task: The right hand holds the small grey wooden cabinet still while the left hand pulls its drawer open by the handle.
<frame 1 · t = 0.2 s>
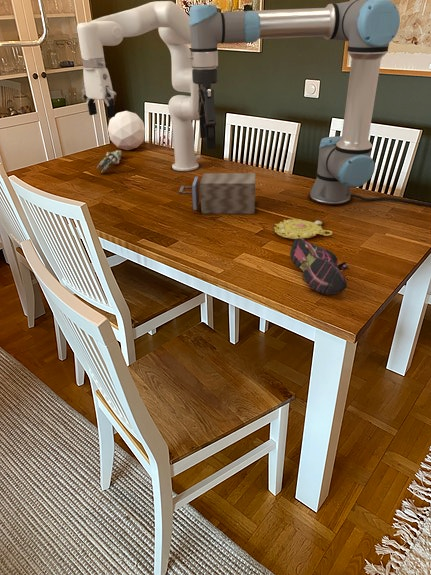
left hand: (102, 115, 162), 31 cm above the table, tool pointing down, fingers open, 9 cm apart
right hand: (207, 142, 139), 28 cm above the table, tool pointing down, fingers open, 13 cm apart
drawer: (211, 193, 164), point 6 cm above the table, slide at 1.8 cm
cabinet: (228, 207, 166), on the table
decorative object: (301, 233, 146), on the table
figurine: (111, 165, 215), on the table
sphere: (129, 148, 239), on the table
athletic shoe: (321, 278, 122), on the table
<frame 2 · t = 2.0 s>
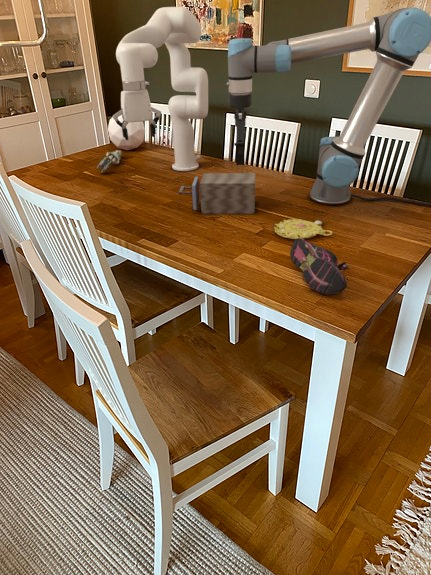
left hand: (139, 137, 160), 24 cm above the table, tool pointing down, fingers open, 9 cm apart
right hand: (240, 158, 154), 19 cm above the table, tool pointing down, fingers open, 13 cm apart
nothing on the table moved.
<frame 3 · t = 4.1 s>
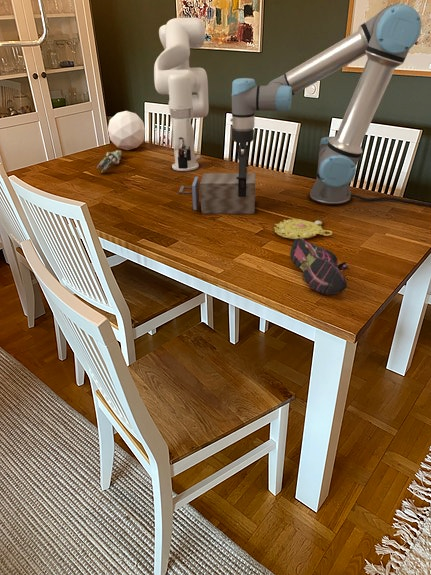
left hand: (185, 164, 159), 16 cm above the table, tool pointing down, fingers open, 8 cm apart
right hand: (242, 190, 162), 7 cm above the table, tool pointing down, fingers closed on cabinet, 11 cm apart
cabinet: (228, 207, 166), on the table, touching right hand
everything else where it was.
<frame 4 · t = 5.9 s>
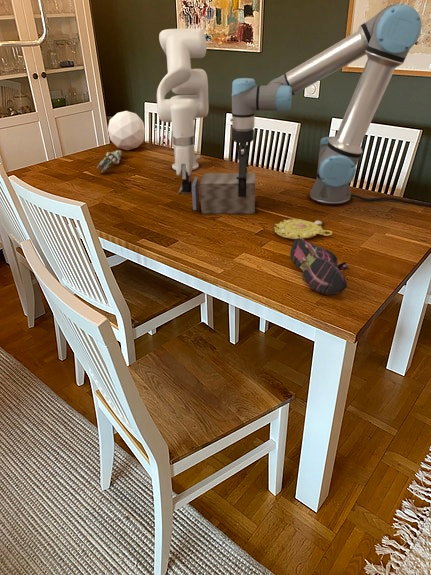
left hand: (187, 191, 163), 6 cm above the table, tool pointing down, fingers closed
right hand: (242, 190, 162), 7 cm above the table, tool pointing down, fingers closed on cabinet, 11 cm apart
cabinet: (228, 207, 166), on the table, touching right hand
everything else where it was.
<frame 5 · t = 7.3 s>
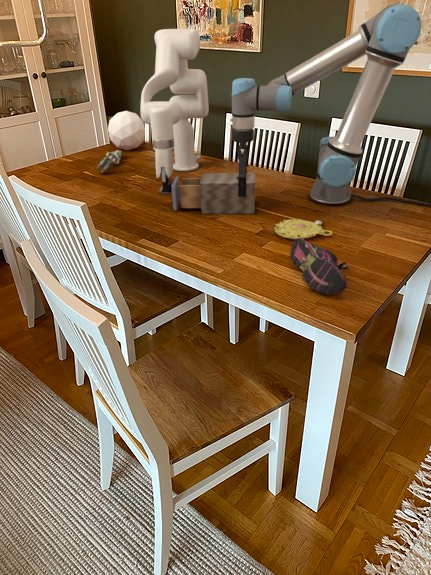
left hand: (167, 193, 165), 5 cm above the table, tool pointing down, fingers closed
right hand: (242, 190, 162), 7 cm above the table, tool pointing down, fingers closed on cabinet, 11 cm apart
drawer: (191, 193, 164), point 6 cm above the table, slide at 9.2 cm, touching left hand
cabinet: (228, 207, 166), on the table, touching right hand
everything else where it was.
when the right hand's fingers open (7 cm above the table, at t = 9.4 s): cabinet stays where it is, on the table.
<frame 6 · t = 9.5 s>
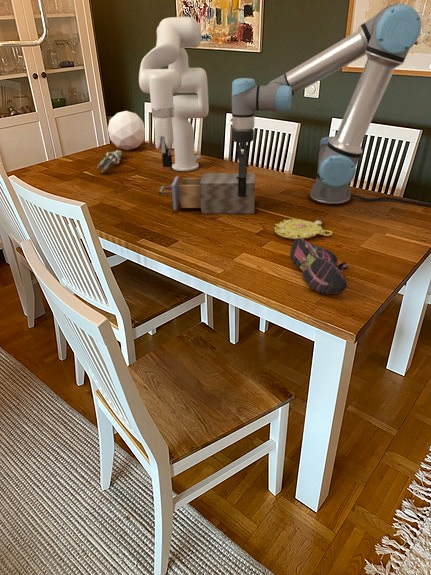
left hand: (167, 166, 159), 16 cm above the table, tool pointing down, fingers closed
right hand: (242, 190, 162), 7 cm above the table, tool pointing down, fingers open, 11 cm apart
drawer: (191, 193, 164), point 6 cm above the table, slide at 9.2 cm
cabinet: (228, 207, 166), on the table
everything else where it was.
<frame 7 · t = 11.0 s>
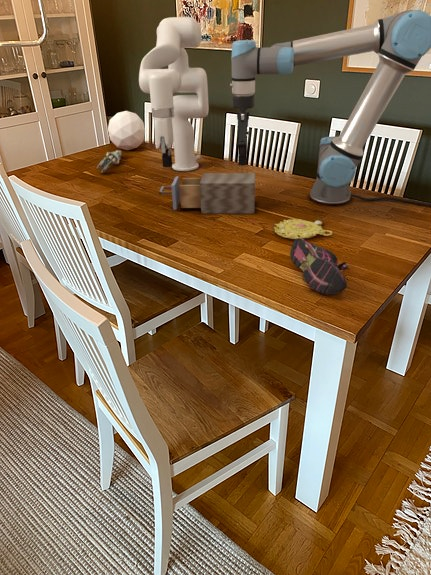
left hand: (167, 166, 159), 16 cm above the table, tool pointing down, fingers closed
right hand: (242, 159, 156), 18 cm above the table, tool pointing down, fingers open, 13 cm apart
nothing on the table moved.
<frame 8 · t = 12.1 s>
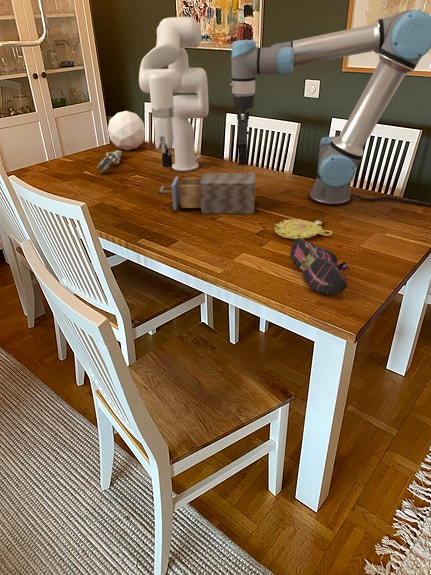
left hand: (167, 166, 159), 16 cm above the table, tool pointing down, fingers closed
right hand: (242, 159, 156), 18 cm above the table, tool pointing down, fingers open, 13 cm apart
nothing on the table moved.
at the end: drawer slide at 9.2 cm; cabinet tilted 0°; cabinet never tilted more than 1° during the clip; cabinet moved 0.1 cm from its start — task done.
